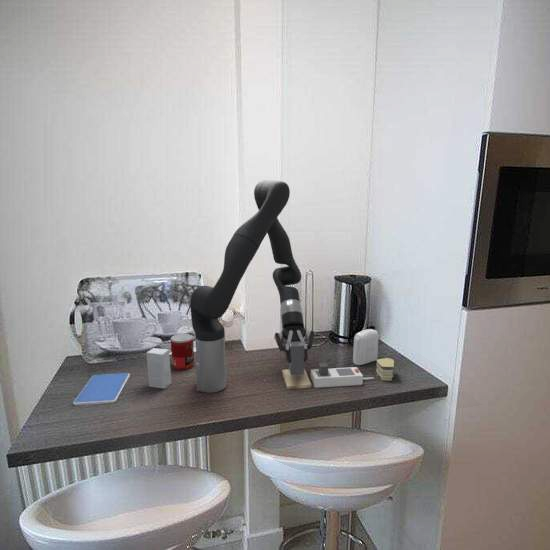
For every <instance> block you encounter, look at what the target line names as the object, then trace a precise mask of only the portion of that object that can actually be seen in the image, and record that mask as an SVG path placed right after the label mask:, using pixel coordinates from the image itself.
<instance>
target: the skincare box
mask: <svg viewBox="0 0 550 550" xmlns="http://www.w3.org/2000/svg"><path fill="white" fill-rule="evenodd" d="M170 359H171V358H170V349H166V348H158V347H157V348H155V347H153V348H151V349H150V350H148V351H146V365H147V374H148V375H147V376H148V386H149V388H156V389H162V390H163V389H164V390H165V389H166V388H168V387H169V386H170V385H171V384H172V372H171V360H170Z"/></svg>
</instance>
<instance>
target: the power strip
mask: <svg viewBox="0 0 550 550" xmlns="http://www.w3.org/2000/svg"><path fill="white" fill-rule="evenodd" d="M374 379H375V377H374V376H371V377H370V376H369V377H364V375H363V374H362V372H361V371H360V370H359V368H358V367H357V366H354V367H353V366H350V367H335V368H334V367H333V368H331V367H330V368H329V365H328V364H327V362H318V368H317V369H315V368H314V369H310V381H311V384H312V386H313V387H314V388H315V389H316V388H331V387H333V388H334V387H346V386H347V387H348V386H349V387H350V386H362V385H363V382H364V381H365V380H366V381H367V380H374Z"/></svg>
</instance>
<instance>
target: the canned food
mask: <svg viewBox="0 0 550 550" xmlns="http://www.w3.org/2000/svg"><path fill="white" fill-rule="evenodd" d="M194 348H195V347H194V336H193V335H192V334H189V333H178V334H175V335H172V336H171V337H170V350H171V351H170V352H171V363H172V367H173V369H175V370H178V371H186V370H190V369H192V368H193V367H194V365H195V353H194V352H195V350H194Z"/></svg>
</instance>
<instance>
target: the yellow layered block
mask: <svg viewBox="0 0 550 550" xmlns="http://www.w3.org/2000/svg"><path fill="white" fill-rule="evenodd" d="M375 366H376V368H375V371H376V376H377V377H379V378H380V380H381V381H383V382H384V381H386V382H389V381H391V382H392V381H393V380H392V379H393V377H394V369H395V368H394V367H395V360H394V359H392V358H389V357H384V358H380V359H379V358H377V360H376V365H375Z"/></svg>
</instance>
